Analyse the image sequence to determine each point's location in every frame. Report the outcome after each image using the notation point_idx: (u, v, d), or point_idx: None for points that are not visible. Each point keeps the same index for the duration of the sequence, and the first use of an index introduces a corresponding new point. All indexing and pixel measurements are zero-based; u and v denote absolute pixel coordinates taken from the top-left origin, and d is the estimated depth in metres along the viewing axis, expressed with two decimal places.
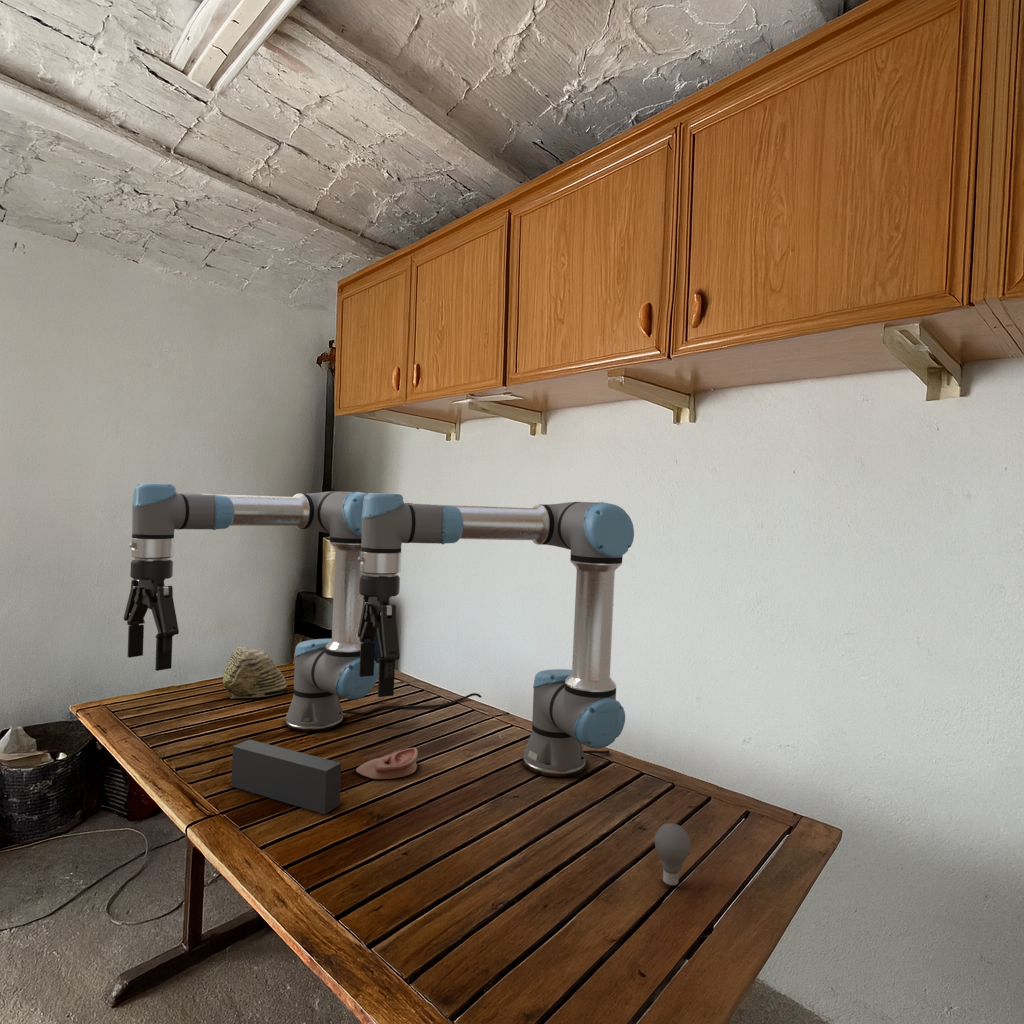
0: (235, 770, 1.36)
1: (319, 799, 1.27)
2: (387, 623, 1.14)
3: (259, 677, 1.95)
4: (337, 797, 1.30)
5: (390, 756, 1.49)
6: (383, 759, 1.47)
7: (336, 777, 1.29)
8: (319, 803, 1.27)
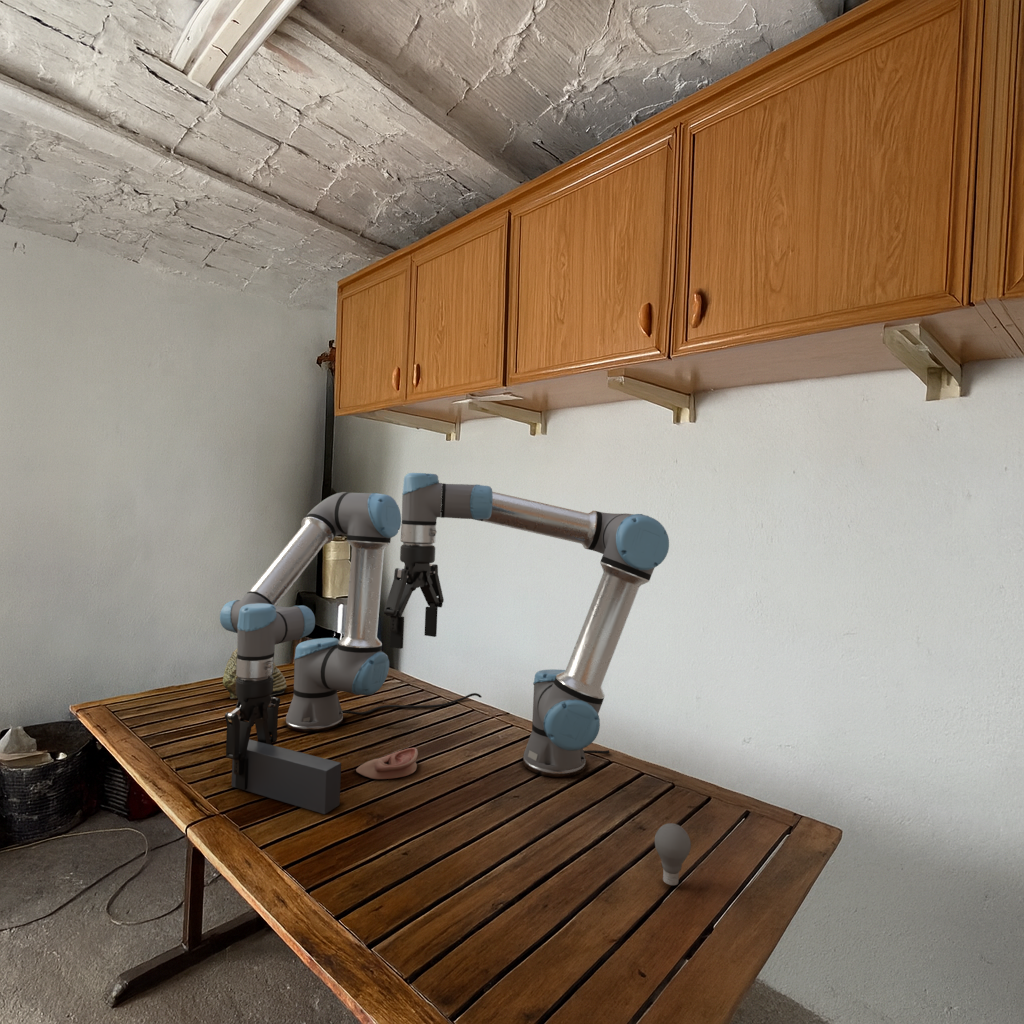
0: None
1: (319, 799, 1.27)
2: None
3: None
4: (337, 797, 1.30)
5: (390, 756, 1.49)
6: (383, 759, 1.47)
7: (336, 777, 1.29)
8: (319, 803, 1.27)
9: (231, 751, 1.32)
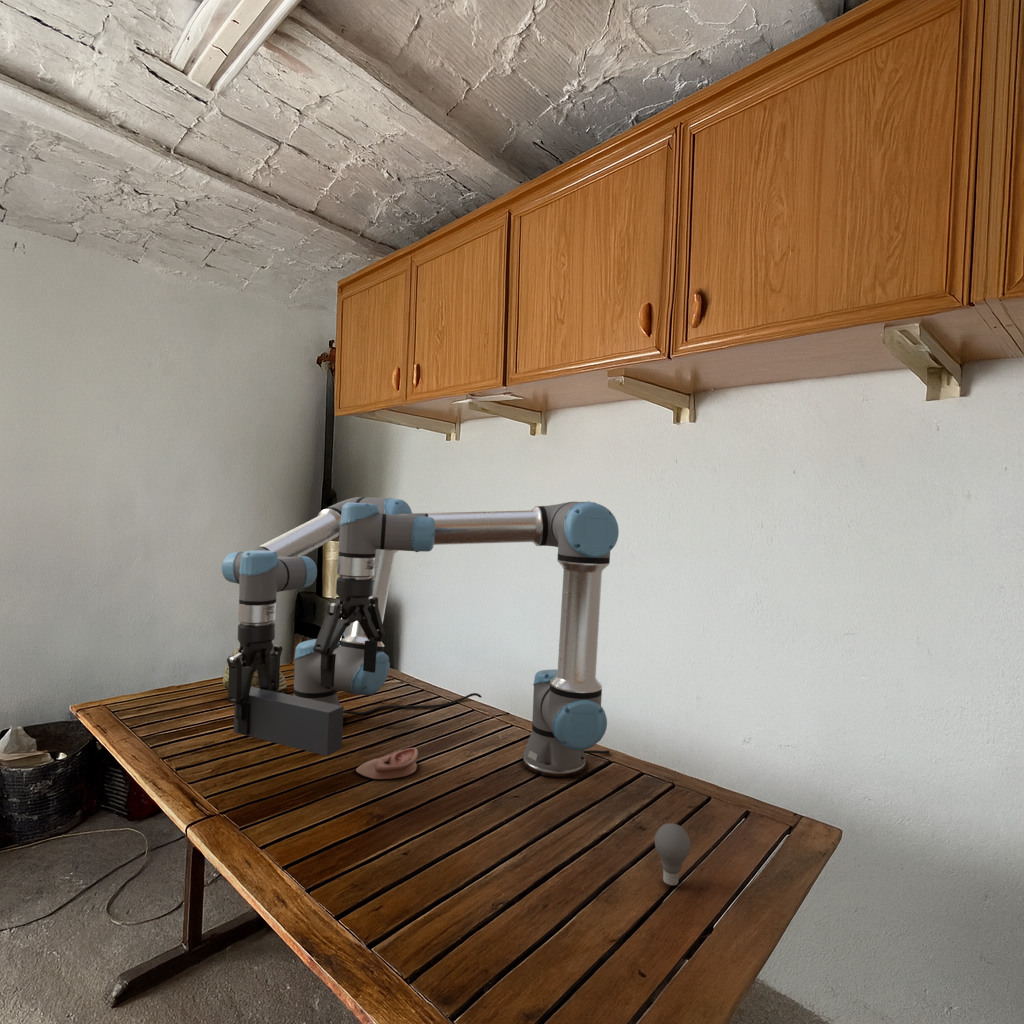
0: None
1: (321, 741, 1.27)
2: None
3: None
4: (339, 740, 1.30)
5: (390, 756, 1.49)
6: (383, 759, 1.47)
7: (338, 720, 1.29)
8: (322, 745, 1.27)
9: (233, 695, 1.31)
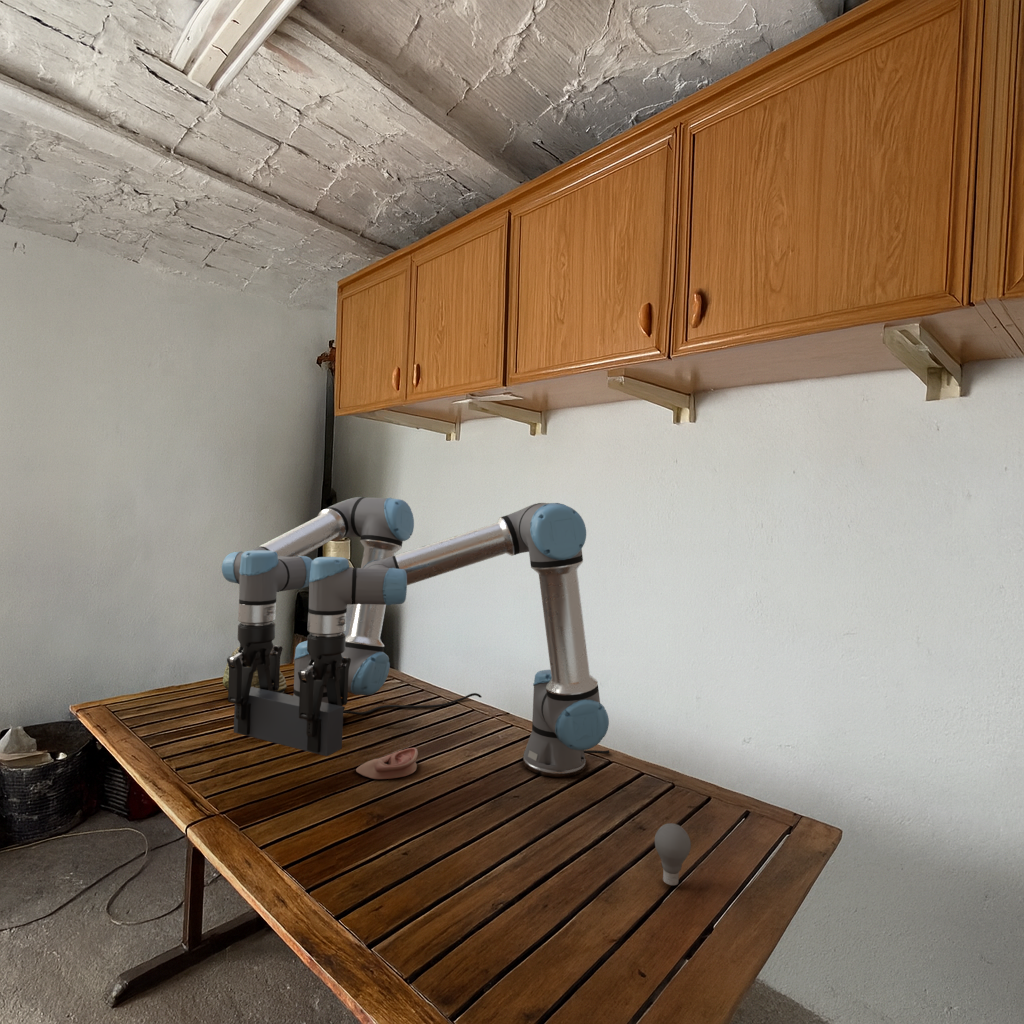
0: None
1: (321, 741, 1.27)
2: None
3: None
4: (339, 740, 1.30)
5: (390, 756, 1.49)
6: (383, 759, 1.47)
7: (338, 720, 1.29)
8: (321, 746, 1.27)
9: (233, 695, 1.31)
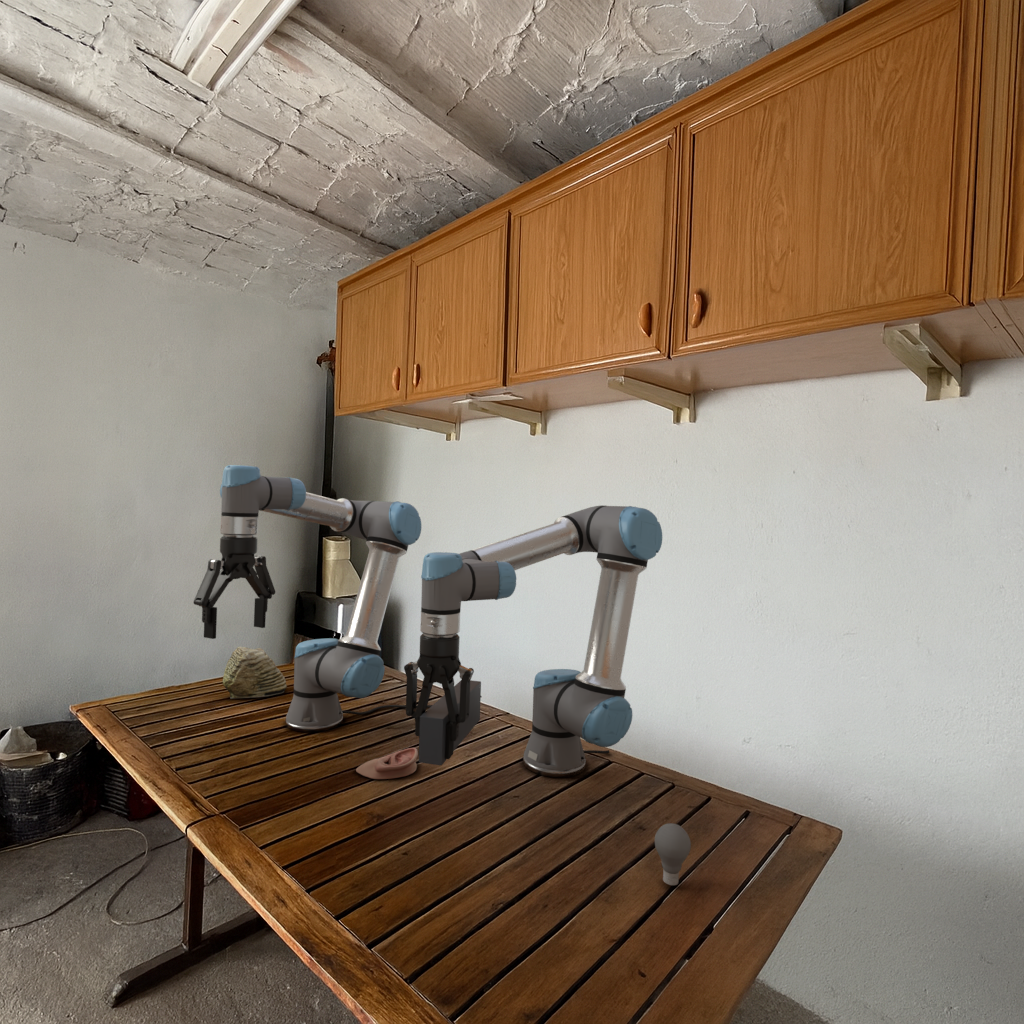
0: None
1: None
2: (467, 687, 1.19)
3: (259, 677, 1.95)
4: (437, 754, 1.18)
5: (390, 756, 1.49)
6: (383, 759, 1.47)
7: (435, 731, 1.18)
8: None
9: (201, 595, 1.30)
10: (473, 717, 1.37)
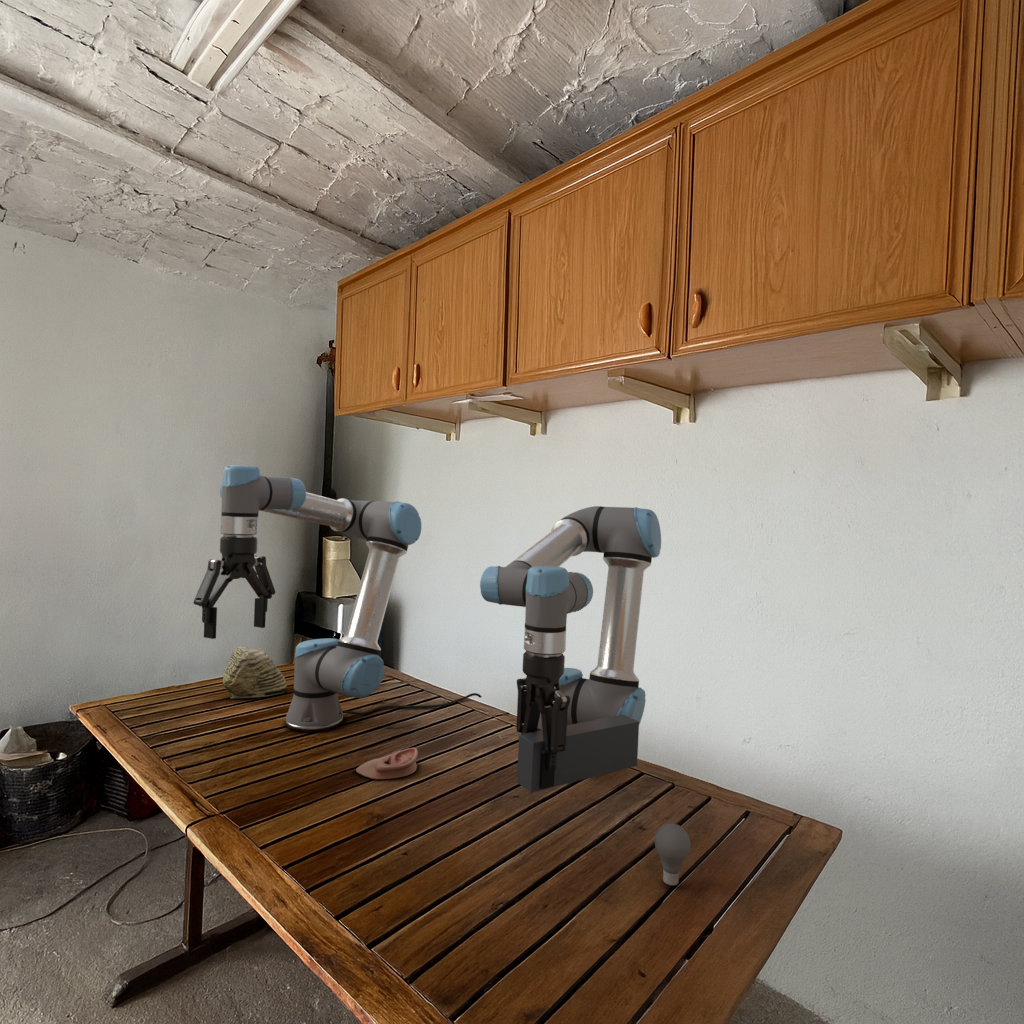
0: None
1: None
2: (560, 716, 1.09)
3: (259, 677, 1.95)
4: (528, 779, 1.12)
5: (390, 756, 1.49)
6: (383, 759, 1.47)
7: (527, 754, 1.12)
8: None
9: (201, 595, 1.30)
10: (616, 758, 1.22)
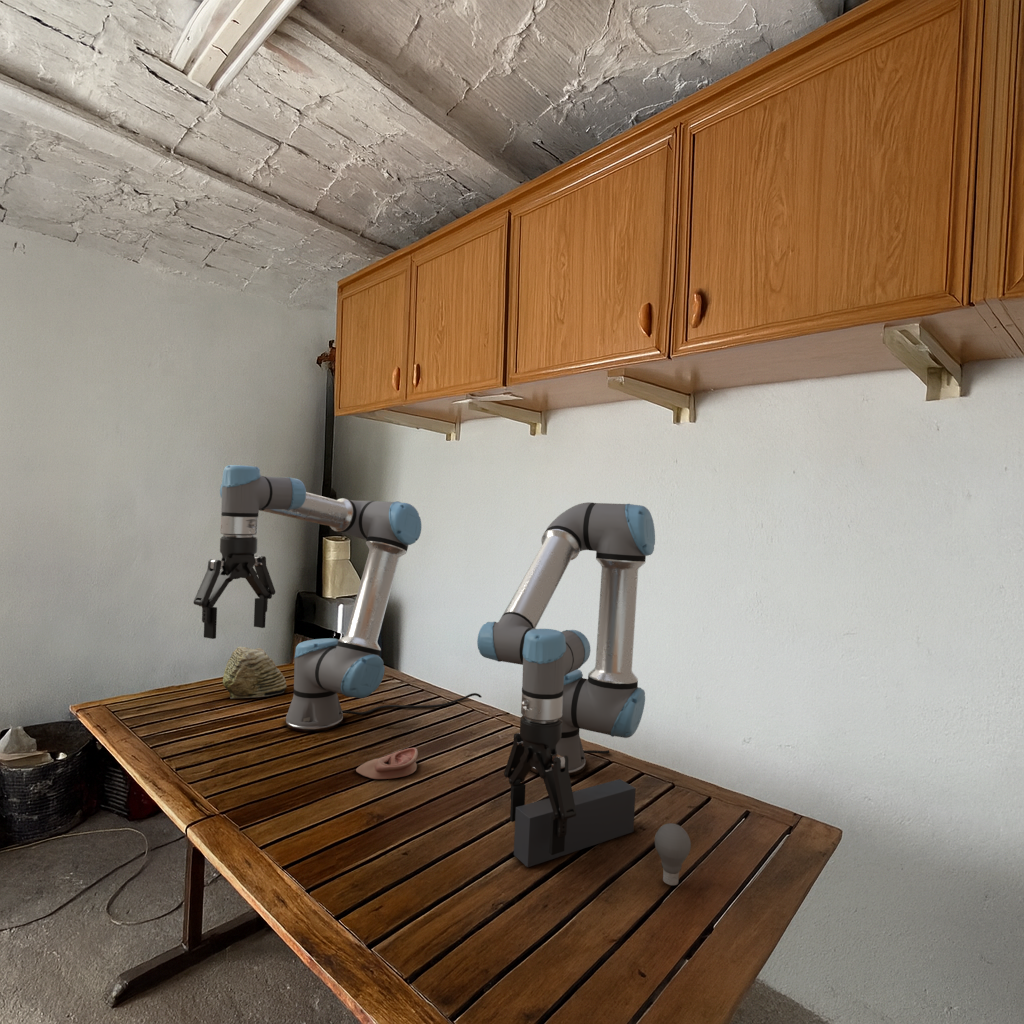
0: None
1: None
2: (562, 778, 1.08)
3: (259, 677, 1.95)
4: (525, 853, 1.12)
5: (390, 756, 1.49)
6: (383, 759, 1.47)
7: (524, 828, 1.12)
8: None
9: (201, 595, 1.30)
10: (613, 826, 1.22)
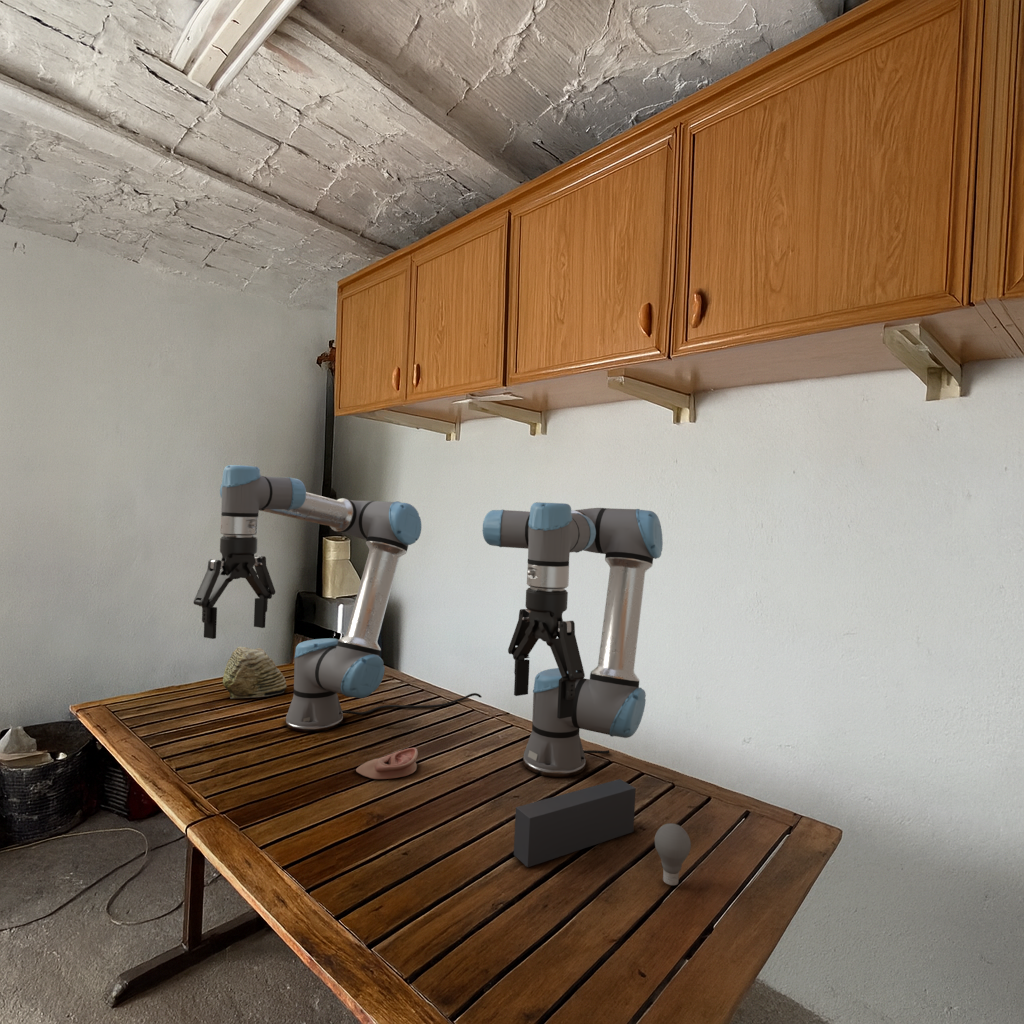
0: None
1: None
2: (569, 640, 1.08)
3: (259, 677, 1.95)
4: (525, 853, 1.12)
5: (390, 756, 1.49)
6: (383, 759, 1.47)
7: (524, 828, 1.12)
8: None
9: (201, 595, 1.30)
10: (613, 826, 1.22)
